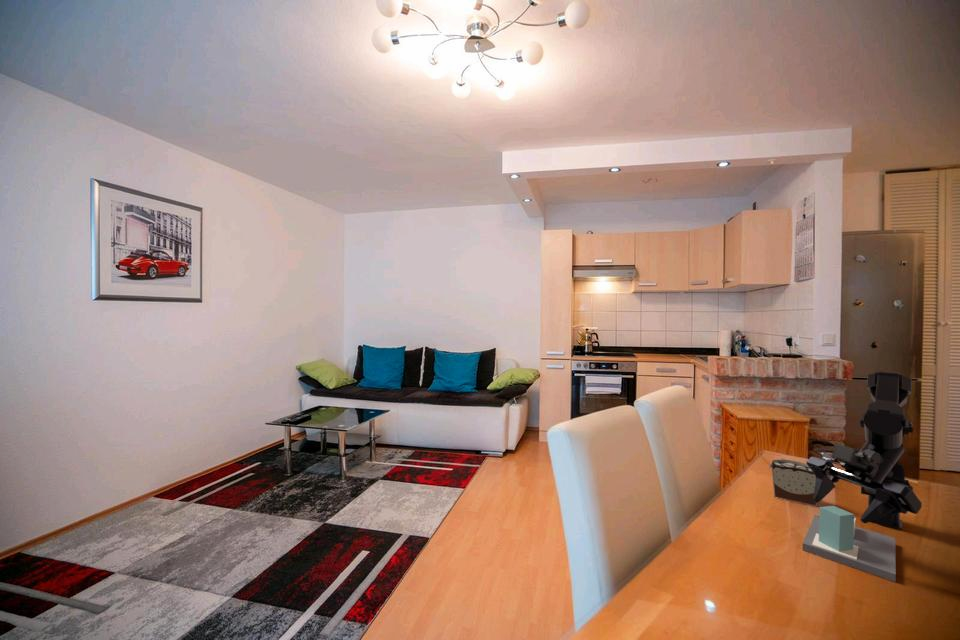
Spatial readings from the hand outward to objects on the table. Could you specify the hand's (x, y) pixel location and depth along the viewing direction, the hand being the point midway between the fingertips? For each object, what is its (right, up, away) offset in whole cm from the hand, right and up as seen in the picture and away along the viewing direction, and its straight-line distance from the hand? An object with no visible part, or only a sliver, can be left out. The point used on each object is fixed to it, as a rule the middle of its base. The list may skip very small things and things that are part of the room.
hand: (837, 511), depth 86 cm
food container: (+13, -10, +28) cm, 32 cm away
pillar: (0, -7, 0) cm, 7 cm away
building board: (+5, -9, +3) cm, 11 cm away
